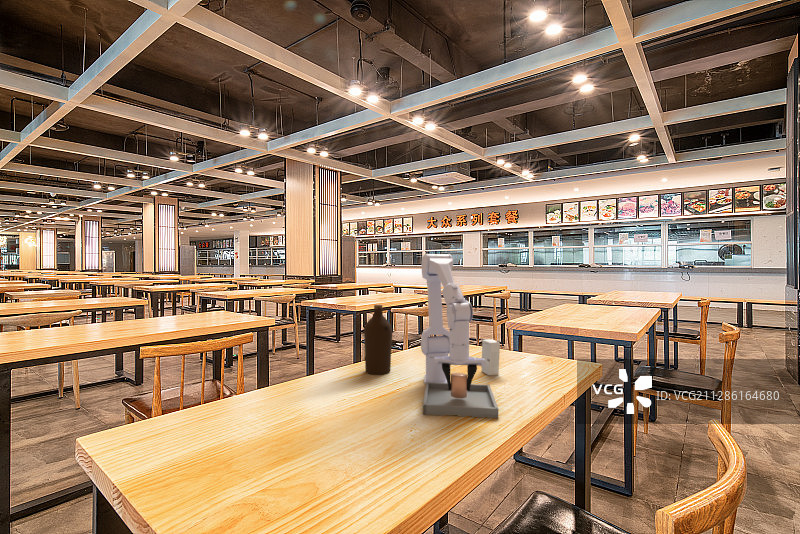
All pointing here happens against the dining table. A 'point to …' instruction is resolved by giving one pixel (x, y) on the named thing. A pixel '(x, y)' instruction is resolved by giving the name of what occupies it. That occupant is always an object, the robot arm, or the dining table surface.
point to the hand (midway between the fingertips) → (458, 389)
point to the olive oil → (378, 343)
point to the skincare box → (490, 356)
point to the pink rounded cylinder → (459, 385)
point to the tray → (459, 401)
